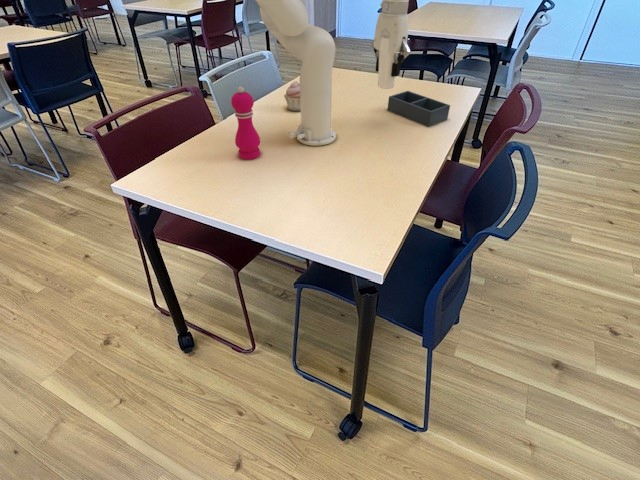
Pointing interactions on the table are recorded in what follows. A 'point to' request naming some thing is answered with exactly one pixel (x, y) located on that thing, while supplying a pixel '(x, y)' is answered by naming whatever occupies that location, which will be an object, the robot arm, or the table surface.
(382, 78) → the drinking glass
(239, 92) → the pepper mill
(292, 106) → the cupcake
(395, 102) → the glass rack
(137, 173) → the table surface
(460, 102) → the table surface
